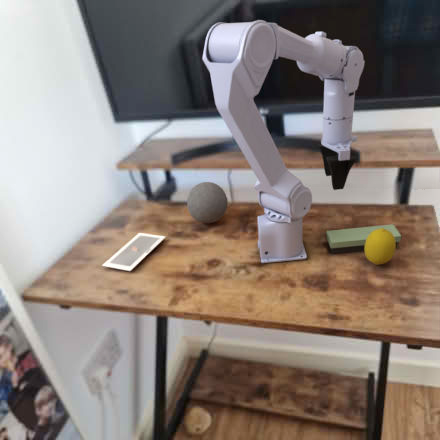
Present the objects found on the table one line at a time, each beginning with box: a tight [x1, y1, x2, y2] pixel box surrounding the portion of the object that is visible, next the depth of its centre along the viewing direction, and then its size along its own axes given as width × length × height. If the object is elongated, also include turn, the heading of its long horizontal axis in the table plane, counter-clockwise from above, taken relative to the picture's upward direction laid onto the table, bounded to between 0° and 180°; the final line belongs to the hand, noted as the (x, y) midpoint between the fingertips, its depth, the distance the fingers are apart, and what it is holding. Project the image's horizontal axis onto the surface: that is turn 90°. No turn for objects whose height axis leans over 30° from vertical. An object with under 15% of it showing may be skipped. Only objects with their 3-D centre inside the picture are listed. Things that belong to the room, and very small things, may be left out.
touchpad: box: [101, 232, 167, 272], centre depth 93 cm, size 8×15×2 cm, turn 155°
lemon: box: [363, 228, 397, 266], centre depth 77 cm, size 6×6×8 cm
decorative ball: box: [186, 181, 228, 224], centre depth 100 cm, size 10×10×10 cm
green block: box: [325, 224, 402, 255], centre depth 85 cm, size 14×5×3 cm, turn 90°
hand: (334, 181), depth 88 cm, fingers open, 7 cm apart
